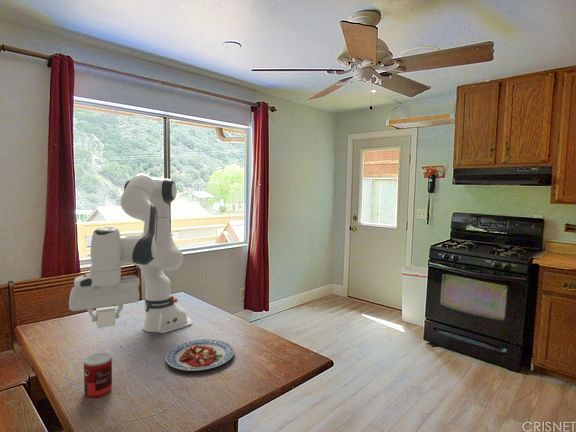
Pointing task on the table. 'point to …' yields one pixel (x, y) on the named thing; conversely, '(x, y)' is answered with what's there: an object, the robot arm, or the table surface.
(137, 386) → the table surface
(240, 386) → the table surface
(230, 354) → the ceramic plate
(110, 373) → the canned food
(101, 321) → the cream block
